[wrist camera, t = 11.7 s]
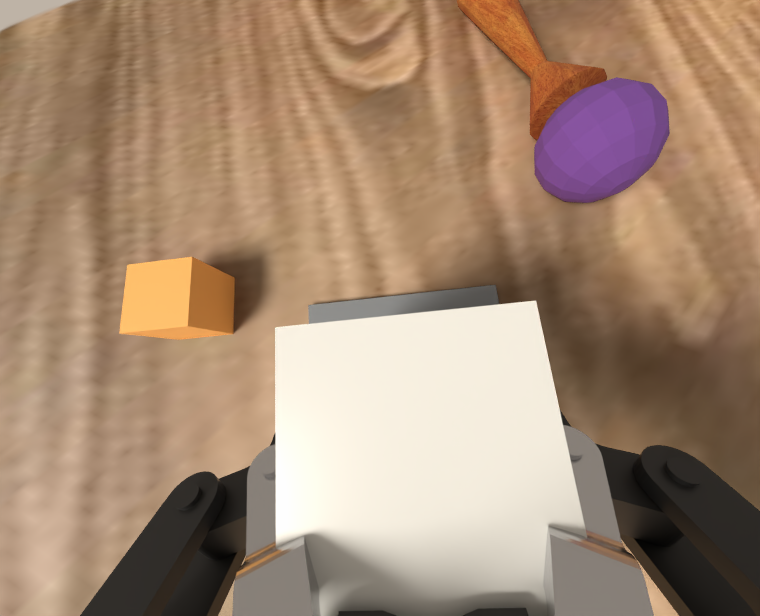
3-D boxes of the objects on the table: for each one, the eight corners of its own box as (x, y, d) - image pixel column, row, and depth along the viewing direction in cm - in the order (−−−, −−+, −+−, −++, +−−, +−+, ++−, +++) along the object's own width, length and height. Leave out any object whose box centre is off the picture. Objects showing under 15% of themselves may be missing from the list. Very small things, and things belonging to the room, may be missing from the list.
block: (183, 284, 20) (127, 264, 16) (235, 278, 19) (192, 256, 15) (179, 339, 19) (119, 333, 15) (233, 334, 18) (187, 326, 15)
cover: (355, 350, 15) (275, 327, 6) (455, 340, 15) (535, 300, 6) (362, 458, 14) (276, 637, 5) (471, 451, 14) (608, 635, 4)
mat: (310, 306, 18) (308, 305, 18) (493, 286, 17) (495, 284, 17) (317, 508, 16) (315, 512, 15) (532, 498, 15) (535, 501, 14)
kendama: (534, -84, 18) (736, 125, 12) (494, 30, 24) (618, 212, 18) (454, -81, 17) (627, 146, 11) (431, 37, 23) (540, 231, 17)
